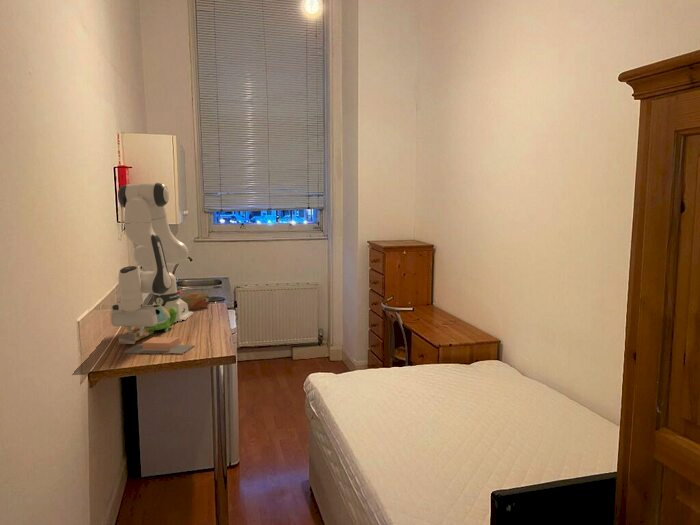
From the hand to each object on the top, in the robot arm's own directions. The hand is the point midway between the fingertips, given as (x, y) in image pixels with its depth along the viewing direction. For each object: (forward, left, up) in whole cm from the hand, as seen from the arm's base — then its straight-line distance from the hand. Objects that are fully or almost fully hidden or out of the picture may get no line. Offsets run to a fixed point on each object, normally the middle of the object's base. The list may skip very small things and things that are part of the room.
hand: (136, 335), depth 227 cm
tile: (+4, +17, -1) cm, 18 cm away
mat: (+11, +17, -3) cm, 20 cm away
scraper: (0, 0, -2) cm, 2 cm away
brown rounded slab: (-61, -3, -3) cm, 61 cm away
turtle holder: (-18, 0, -3) cm, 18 cm away
